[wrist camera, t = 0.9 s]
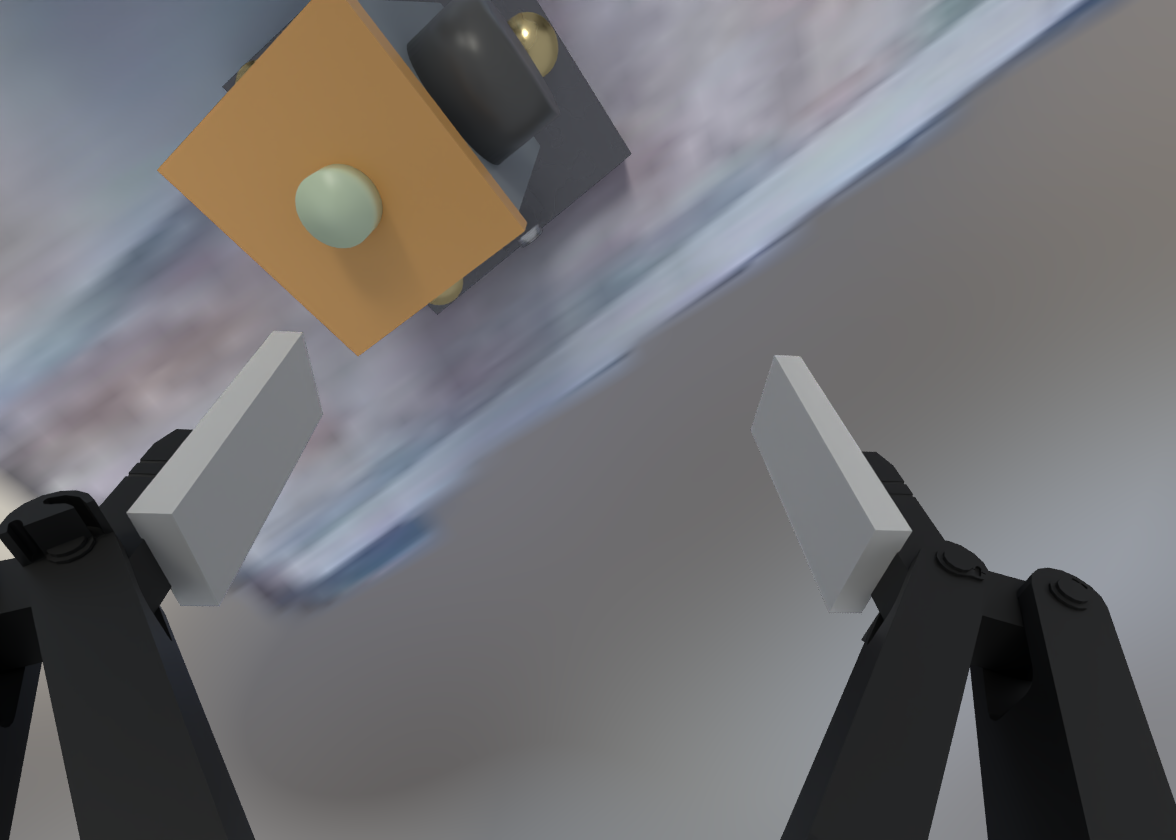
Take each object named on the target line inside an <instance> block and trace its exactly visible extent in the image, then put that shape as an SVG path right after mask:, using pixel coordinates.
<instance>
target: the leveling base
mask: <svg viewBox="0 0 1176 840" xmlns="http://www.w3.org/2000/svg"><path fill="white" fill-rule="evenodd" d="M390 1H413V2H435V3H441V4H442V6H443V7H445V6H446V5H447V4H448V3H449V2H450V1H451V0H390ZM491 1H492V3H493V4H494V5H495V7H496V8H497V9H498V11H499V12H500V13H501V15H502V16H503V17H504V19H505V20H506V22H507V23H508V24H509V26H510V27H511V29H512V30H513V32H514V33H515V34H516V36H517V37H518V39H519V40H520V42H521V43H522V45H523V46H524V48H525V49H526V51H527V53H528V54H529V56H530V57H531V59H532V60H533V62H534V64H535V65H536V67H537V68H538V70H539V72H540V73H541V75H542V77H543V79H544V80H545V82H546V84H547V86H548V87H549V89H550V91H551V93H552V95H553V97H554V99H555V101H556V103H557V105H558V108H559V111H560V115H559V116H558V117H557V118H556V119H554V120H553V121H552V122H551V123H550V124H548V125H547V126H546V127H545V128H543V129H542V130H541V131H540V132H539V133H537V134H536V135H535V136H534V137H535V139H536V140H537V142H538V143H539V145H540V149H539V152H538V155H537V158H536V161H535V164H534V167H533V170H532V173H531V176H530V179H529V182H528V185H527V188H526V191H525V194H524V197H523V200H522V203H521V206H520V209H519V212H520V213H521V215H522V216H523V217H524V219H525V220H526V221H527V225H526V229H525V231H524V232H523V233H522V234H520V235H519V236H518V237H516V238H515V239H514V240H512V241H511V242H510V243H508V244H507V245H506V246H504V247H503V248H502V249H500V250H499V251H498V252H496V253H495V254H494V255H492V256H491V257H490V258H488V259H487V260H486V261H484V262H483V263H482V264H480V265H479V266H478V267H476V268H475V269H474V270H472V271H471V272H470V273H468V274H467V275H466V276H464V277H463V278H462V279H460V280H459V281H458V282H456V283H455V284H454V285H452V286H451V287H450V288H448V289H447V290H446V291H444V292H443V293H442V294H441V295H439V296H438V297H437V298H435V299H434V300H433V301H431V302H430V303H429V304H427V305H428V306H429V307H430V308H431V309H432V310H433V311H434V312H435V313H436V314H439V313H440V312H441V311H442V310H443V309H445V308H446V307H447V306H448V305H449V304H451V303H452V302H453V301H454V300H455V299H457V298H458V297H459V296H460V295H461V294H463V293H464V292H465V291H466V290H468V289H469V288H470V287H471V286H472V285H474V284H475V283H476V282H477V281H478V280H480V279H481V278H482V277H483V276H484V275H486V274H487V273H488V272H489V271H491V270H492V269H493V268H494V267H495V266H497V265H498V264H499V263H500V262H501V261H503V260H504V259H505V258H506V257H507V256H509V255H510V254H511V253H512V252H514V251H515V250H516V249H517V248H518V247H520V246H522V247H525V246H527V245H528V244H530V243H531V242H533V241H534V240H535V239H536V238H537V237H538V236H539V235H540V234H541V233H542V231H543V230H542V228H543V227H544V226H545V225H546V224H547V223H549V222H550V221H551V220H552V219H553V218H555V217H556V216H557V215H558V214H560V213H561V212H562V211H563V210H564V209H566V208H567V207H568V206H569V205H570V204H572V203H573V202H574V201H575V200H576V199H578V198H579V197H580V196H581V195H583V194H584V193H585V192H586V191H587V190H589V189H590V188H591V187H592V186H593V185H595V184H596V183H597V182H598V181H599V180H601V179H602V178H603V177H604V176H605V175H607V174H608V173H609V172H610V171H612V170H613V169H614V168H615V167H616V166H618V165H619V164H620V163H621V162H622V161H624V160H625V159H626V158H627V157H628V156H630V155H631V152H630V151H629V149H628V147H627V146H626V144H625V143H624V141H623V139H622V138H621V136H620V135H619V133H618V131H617V130H616V128H615V126H614V125H613V123H612V122H611V120H610V118H609V117H608V115H607V113H606V112H605V110H604V109H603V107H602V105H601V104H600V102H599V101H598V99H597V97H596V96H595V94H594V92H593V91H592V89H591V88H590V86H589V84H588V83H587V81H586V80H585V78H584V76H583V75H582V73H581V71H580V70H579V68H578V67H577V65H576V63H575V62H574V60H573V59H572V57H571V55H570V54H569V52H568V50H567V49H566V47H565V46H564V44H563V42H562V41H561V39H560V38H559V36H558V34H557V33H556V31H555V29H554V28H553V26H552V25H551V23H550V21H549V20H548V18H547V17H546V15H545V13H544V12H543V10H542V8H541V7H540V5H539V4H538V2H537V0H491ZM295 18H296V17H295ZM295 18H294V19H295ZM294 19H293V20H294ZM293 20H292V21H293ZM292 21H291V22H292ZM291 22H289V23H288V24H287V25H286V26H285V27H284V28H283V29H282V30H281V31H280V32H279V33H278V34H277V35H276V36H275V37H274V38H273V39H272V40H271V41H270V42H269V43H267V44H266V45H265V46H264V47H263V48H262V49H261V50H260V51H259V52H258V53H257V54H256V55H255V56H254V57H253V58H252V59H251V60H250V61H249V62H248V63H246V64H245V65H243V66H242V67H241V69H240V70H239V71H238V72H237V73H236V74H235V75H234V76H233V77H232V78H231V79H230V80H229V81H228V82H227V83H226V84H225V85H224V86H222V87H223V88H224V89H225V90H226V91H227V92H228V91H229V90H230V89H231V88H232V87H233V86H234V85H235V84H236V83H237V81H238V80H239V79H240V78H241V77H242V76H243V75H244V74H245V73H246V72H247V70H248V69H249V68H250V67H251V66H252V65H253V64H254V63H255V62H256V60H257V59H258V58H259V57H260V56H261V55H262V54H263V53H264V52H265V51H266V49H267V48H268V47H269V46H270V45H271V44H272V43H273V42H274V41H275V40H276V38H277V37H278V36H279V35H280V34H281V33H282V32H283V31H284V30H285V29H286V27H287V26H288V25H289V24H290V23H291Z"/></svg>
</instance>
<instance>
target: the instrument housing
mask: <svg viewBox="0 0 1176 840" xmlns="http://www.w3.org/2000/svg"><path fill="white" fill-rule="evenodd" d="M559 115H560V111H559V108H558V105H557V103H556V101H555V99H554V97H553V95H552V93H551V91H550V89H549V87H548V86H547V84H546V82H545V80H544V79H543V77H542V75H541V73H540V72H539V70H538V68H537V67H536V65H535V64H534V62H533V60H532V59H531V57H530V56H529V54H528V53H527V51H526V49H525V48H524V46H523V45H522V43H521V42H520V40H519V39H518V37H517V36H516V34H515V33H514V32H513V30H512V29H511V27H510V26H509V24H508V23H507V22H506V20H505V19H504V17H503V16H502V15H501V13H500V12H499V11H498V9H497V8H496V7H495V5H494V4H493V3H492V1H491V0H451V1H450V2H449V3H448V4H447V5H446V6H445V7H443V6H442V4H441V3H435V2H413V1H390V0H311V1H310V2H309V3H308V4H307V5H306V6H305V8H304V9H303V10H302V11H301V12H300V13H299V14H298V15H297V16H296V18H295V19H294V20H293V21H292V22H291V23H290V24H289V25H288V26H287V27H286V29H285V30H284V31H283V32H282V33H281V34H280V35H279V36H278V37H277V38H276V40H275V41H274V42H273V43H272V44H271V45H270V46H269V47H268V48H267V49H266V51H265V52H264V53H263V54H262V55H261V56H260V57H259V58H258V59H257V60H256V62H255V63H254V64H253V65H252V66H251V67H250V68H249V69H248V70H247V72H246V73H245V74H244V75H243V76H242V77H241V78H240V79H239V80H238V81H237V83H236V84H235V85H234V86H233V87H232V88H231V89H230V90H229V91H228V92H227V94H226V95H225V96H224V97H223V98H222V99H221V100H220V101H219V102H218V103H217V105H216V106H215V107H214V108H213V109H212V110H211V111H210V112H209V113H208V114H207V116H206V117H205V118H204V119H203V120H202V121H201V122H200V123H199V124H198V126H197V127H196V128H195V129H194V130H193V131H192V132H191V133H190V134H189V135H188V137H187V138H186V139H185V140H184V141H183V142H182V143H181V144H180V145H179V146H178V148H177V149H176V150H175V151H174V152H173V153H172V154H171V155H170V156H169V157H168V159H167V160H166V161H165V162H164V163H163V164H162V165H161V166H160V167H159V168H158V170H157V171H158V172H159V173H161V174H162V175H163V176H164V177H165V178H166V179H167V180H168V181H169V182H170V183H171V184H172V185H173V186H175V187H176V188H177V189H178V190H179V191H180V192H181V193H182V194H183V195H184V196H185V197H186V198H188V199H189V200H190V201H191V202H192V203H193V204H194V205H195V206H196V207H197V208H198V209H199V210H200V211H202V212H203V213H204V214H205V215H206V216H207V217H208V218H209V219H210V220H211V221H212V222H213V223H214V224H216V225H217V226H218V227H219V228H220V229H221V230H222V231H223V232H224V233H225V234H226V235H227V236H229V237H230V238H231V239H232V240H233V241H234V242H235V243H236V244H237V245H238V246H239V247H240V248H241V249H243V250H244V251H245V252H246V253H247V254H248V255H249V256H250V257H251V258H252V259H253V260H254V261H256V262H257V263H258V264H259V265H260V266H261V267H262V268H263V269H264V270H265V271H266V272H267V273H268V274H270V275H271V276H272V277H273V278H274V279H275V280H276V281H277V282H278V283H279V284H280V285H281V286H283V287H284V288H285V289H286V290H287V291H288V292H289V293H290V294H291V295H292V296H293V297H294V298H295V299H297V300H298V301H299V302H300V303H301V304H302V305H303V306H304V307H305V308H306V309H307V310H308V311H309V312H311V313H312V314H313V315H314V316H315V317H316V318H317V319H318V320H319V321H320V322H321V323H322V324H324V325H325V326H326V327H327V328H328V329H329V330H330V331H331V332H332V333H333V334H334V335H335V336H336V337H338V338H339V339H340V340H341V341H342V342H343V343H344V344H345V345H346V346H347V347H348V348H349V349H351V350H352V351H353V352H354V353H355V354H356V355H357V356H359V355H361V354H362V353H363V352H365V351H366V350H367V349H369V348H370V347H371V346H373V345H374V344H375V343H377V342H378V341H379V340H381V339H382V338H383V337H385V336H386V335H387V334H389V333H390V332H391V331H393V330H394V329H395V328H397V327H398V326H399V325H401V324H402V323H403V322H405V321H406V320H407V319H409V318H410V317H411V316H413V315H414V314H415V313H417V312H418V311H419V310H421V309H422V308H423V307H425V306H426V305H427V304H429V303H430V302H431V301H433V300H434V299H435V298H437V297H438V296H439V295H441V294H442V293H443V292H444V291H446V290H447V289H448V288H450V287H451V286H452V285H454V284H455V283H456V282H458V281H459V280H460V279H462V278H463V277H464V276H466V275H467V274H468V273H470V272H471V271H472V270H474V269H475V268H476V267H478V266H479V265H480V264H482V263H483V262H484V261H486V260H487V259H488V258H490V257H491V256H492V255H494V254H495V253H496V252H498V251H499V250H500V249H502V248H503V247H504V246H506V245H507V244H508V243H510V242H511V241H512V240H514V239H515V238H516V237H518V236H519V235H520V234H522V233H523V232H524V231H525V229H526V225H527V221H526V220H525V219H524V217H523V216H522V215H521V213H520V212H519V209H520V206H521V203H522V200H523V197H524V194H525V191H526V188H527V185H528V182H529V179H530V176H531V173H532V170H533V167H534V164H535V161H536V158H537V155H538V152H539V149H540V145H539V143H538V142H537V140H536V139H535V137H534V136H535V135H536V134H537V133H539V132H540V131H541V130H542V129H543V128H545V127H546V126H547V125H548V124H550V123H551V122H552V121H553V120H554V119H556V118H557V117H558V116H559Z"/></svg>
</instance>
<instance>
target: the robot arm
mask: <svg viewBox="0 0 1176 840" xmlns="http://www.w3.org/2000/svg"><path fill="white" fill-rule="evenodd" d="M322 415H323V412H322V408H321V404H320V400H319V396H318V392H317V388H316V384H315V380H314V376H313V372H312V368H311V364H310V360H309V356H308V351H307V347H306V343H305V339H304V335H303V332H285V331H273V332H272V333H271V334H270V335H269V337H268V338H267V339H266V340H265V342H264V343H263V344H262V345H261V347H260V348H259V349H258V350H257V352H256V353H255V354H254V355H253V357H252V358H251V359H250V360H249V361H248V363H247V364H246V365H245V366H244V368H243V369H242V370H241V371H240V373H239V374H238V375H237V376H236V378H235V379H234V380H233V381H232V383H231V384H230V385H229V386H228V387H227V389H226V390H225V391H224V392H223V394H222V395H221V396H220V397H219V399H218V400H217V401H216V402H215V404H214V405H213V406H212V407H211V408H210V410H209V411H208V412H207V413H206V415H205V416H204V417H203V418H202V420H201V421H200V422H199V423H198V425H197V426H196V427H195V428H194V430H187V429H176V430H174V431H173V432H171V433H170V434H168V435H167V436H165V437H163V438H162V439H160V440H159V441H157V442H156V443H154V444H153V445H152V447H151V448H150V449H149V450H148V451H147V452H146V454H145V455H144V456H143V457H142V458H141V459H140V463H137V464H136V465H135V466H134V467H133V468H132V470H131V471H130V472H129V476H126V477H125V478H124V479H123V480H122V481H121V482H120V483H119V485H118V486H117V487H116V488H115V489H114V490H113V492H112V493H111V494H110V495H109V496H108V497H107V498H106V500H105V501H104V502H103V503H102V504H101V505H100V506H98V505H97V503H96V502H95V500H94V499H93V498H92V497H91V496H90V495H89V494H88V493H85V492H81V491H77V490H74V491H59V492H55V493H51V494H47V495H43V496H40V497H38V498H36V499H33V500H31V501H29V502H27V503H24V504H23V505H21V506H20V507H18V508H17V509H16V510H14V511H13V512H11V513H10V514H9V515H8V516H7V517H6V518H5V519H4V521H3V522H2V523H1V524H0V539H1V541H2V542H3V543H4V544H5V546H6V547H7V548H8V549H9V550H10V552H11V553H12V554H13V555H14V557H15V558H13V559H8V560H3V561H0V840H9V836H10V830H11V825H12V820H13V815H14V808H15V804H16V798H17V793H18V788H19V782H20V777H21V772H22V766H23V761H24V755H25V750H26V745H27V739H28V734H29V729H30V723H31V718H32V712H33V707H34V702H35V696H36V691H37V686H38V680H39V674H40V669H41V664H42V662H43V665H44V670H45V675H46V679H47V684H48V688H49V694H50V698H51V703H52V708H53V712H54V717H55V722H56V726H57V731H58V736H59V741H60V745H61V750H62V755H63V760H64V765H65V769H66V774H67V779H68V784H69V788H70V793H71V798H72V803H73V807H74V812H75V817H76V821H77V826H78V831H79V836H80V840H255V838H254V835H253V833H252V830H251V828H250V825H249V823H248V820H247V818H246V815H245V813H244V810H243V808H242V806H241V803H240V800H239V798H238V795H237V793H236V790H235V788H234V785H233V783H232V780H231V778H230V776H229V773H228V770H227V768H226V765H225V763H224V760H223V758H222V755H221V753H220V750H219V748H218V745H217V743H216V740H215V738H214V736H213V733H212V730H211V728H210V725H209V723H208V720H207V718H206V715H205V713H204V710H203V708H202V705H201V703H200V700H199V698H198V695H197V693H196V690H195V688H194V685H193V683H192V680H191V678H190V675H189V673H188V670H187V668H186V665H185V663H184V660H183V658H182V655H181V653H180V650H179V648H178V645H177V643H176V640H175V638H174V635H173V633H172V630H171V628H170V626H169V623H168V620H167V618H166V615H165V613H164V611H163V610H162V609H161V607H160V604H161V602H162V601H163V599H164V598H165V596H166V595H167V593H168V591H169V590H170V589H171V590H172V592H173V594H174V595H175V597H176V599H177V601H178V602H179V604H180V606H220V604H221V602H222V601H223V599H224V597H225V595H226V593H227V591H228V589H229V588H230V586H231V584H232V582H233V580H234V578H235V576H236V575H237V573H238V571H239V569H240V567H241V565H242V563H243V562H244V560H245V558H246V556H247V554H248V552H249V551H250V549H251V547H252V545H253V543H254V541H255V539H256V538H257V536H258V534H259V532H260V530H261V528H262V526H263V525H264V523H265V521H266V519H267V517H268V515H269V513H270V512H271V510H272V508H273V506H274V504H275V502H276V500H277V499H278V497H279V495H280V493H281V491H282V489H283V487H284V486H285V484H286V482H287V480H288V478H289V476H290V474H291V473H292V471H293V469H294V467H295V465H296V463H297V461H298V460H299V458H300V456H301V454H302V452H303V450H304V448H305V447H306V445H307V443H308V441H309V439H310V437H311V435H312V434H313V432H314V430H315V428H316V426H317V424H318V423H319V421H320V419H321V417H322ZM751 432H752V434H753V437H754V438H755V441H756V444H757V446H758V448H759V450H760V453H761V455H762V458H763V460H764V462H765V465H766V467H767V469H768V472H769V474H770V476H771V479H772V481H773V483H774V486H775V488H776V490H777V493H778V495H779V497H780V500H781V502H782V504H783V507H784V509H785V511H786V514H787V516H788V518H789V521H790V523H791V525H792V528H793V530H794V533H795V535H796V537H797V540H798V542H799V544H800V546H801V549H802V551H803V553H804V556H805V558H806V560H807V563H808V565H809V568H810V570H811V572H812V575H813V577H814V579H815V582H816V584H817V586H818V588H819V591H820V593H821V596H822V598H823V600H824V602H825V605H826V607H827V610H828V612H829V613H862V611H863V609H864V608H865V606H866V605H867V603H868V601H869V600H870V598H871V597H872V598H873V600H874V602H875V604H876V606H877V608H878V610H879V614H878V615H877V616H876V618H875V620H874V621H873V623H872V624H871V626H870V627H869V629H868V630H867V632H866V633H865V635H864V636H863V638H862V641H864V642H865V643H864V645H863V647H862V649H861V652H860V654H859V656H858V659H857V662H856V664H855V666H854V668H853V671H852V673H851V675H850V678H849V680H848V682H847V685H846V687H845V689H844V692H843V694H842V696H841V699H840V701H839V703H838V706H837V708H836V711H835V713H834V715H833V717H832V720H831V722H830V725H829V727H828V729H827V732H826V734H825V736H824V739H823V741H822V743H821V746H820V748H819V750H818V753H817V755H816V757H815V760H814V762H813V764H812V767H811V769H810V771H809V774H808V776H807V778H806V781H805V783H804V785H803V788H802V790H801V793H800V795H799V797H798V799H797V802H796V804H795V807H794V809H793V811H792V814H791V816H790V818H789V821H788V823H787V826H786V828H785V830H784V832H783V835H782V837H781V839H780V840H928V836H929V832H930V828H931V824H932V820H933V816H934V812H935V807H936V803H937V799H938V795H939V791H940V787H941V783H942V779H943V775H944V771H945V767H946V763H947V758H948V754H949V750H950V746H951V742H952V738H953V733H954V730H955V726H956V721H957V717H958V713H959V709H960V704H961V701H962V696H963V693H964V689H965V684H966V680H967V676H968V672H969V668H970V670H971V681H972V690H973V700H974V709H975V718H976V728H977V738H978V748H979V758H980V767H981V776H982V787H983V796H984V806H985V814H986V825H987V834H988V840H1176V804H1175V801H1174V798H1173V795H1172V793H1171V789H1170V787H1169V784H1168V781H1167V778H1166V775H1165V772H1164V769H1163V766H1162V764H1161V760H1160V758H1159V755H1158V752H1157V749H1156V746H1155V743H1154V740H1153V738H1152V735H1151V732H1150V729H1149V726H1148V723H1147V720H1146V717H1145V714H1144V712H1143V708H1142V706H1141V703H1140V700H1139V697H1138V694H1137V691H1136V689H1135V685H1134V682H1133V680H1132V677H1131V674H1130V671H1129V668H1128V665H1127V662H1126V659H1125V656H1124V654H1123V650H1122V648H1121V645H1120V642H1119V639H1118V636H1117V633H1116V631H1115V627H1114V624H1113V622H1112V619H1111V616H1110V613H1109V610H1108V607H1107V606H1106V604H1105V602H1104V601H1103V599H1102V597H1101V596H1100V595H1099V594H1098V593H1097V592H1096V591H1095V590H1094V589H1093V588H1092V587H1091V586H1089V585H1088V584H1086V583H1085V582H1084V581H1082V580H1080V579H1079V578H1077V577H1075V576H1073V575H1071V574H1069V573H1066V572H1064V571H1062V570H1057V569H1052V568H1042V569H1037V570H1036V571H1035V572H1034V573H1032V575H1031V576H1030V577H1029V578H1028V579H1027V580H1026V581H1024V580H1020V579H1016V578H1012V577H1008V576H1005V575H1002V574H998V573H994V572H990V571H988V569H987V568H986V566H985V564H984V563H983V562H982V561H981V560H980V559H979V558H978V557H977V556H976V555H975V554H974V553H972V552H971V551H969V550H967V549H966V548H964V547H962V546H961V545H958V544H955V543H953V542H950V541H945V540H944V539H943V537H942V536H941V534H940V533H939V531H938V530H937V529H936V527H935V526H934V524H933V523H932V521H931V520H930V519H929V517H928V515H927V514H926V512H925V511H924V510H923V508H922V507H921V505H920V504H919V502H918V501H917V499H916V498H915V497H913V496H912V495H913V494H912V492H911V491H910V489H909V488H908V486H907V485H906V484H904V481H903V479H902V478H901V476H900V475H899V473H898V472H897V470H896V469H895V468H894V466H893V465H892V464H890V463H889V462H888V461H887V460H885V459H884V458H883V457H882V456H880V455H879V454H878V453H877V452H861V450H860V449H859V447H858V446H857V444H856V442H855V441H854V439H853V438H852V436H851V435H850V433H849V432H848V430H847V428H846V427H845V425H844V424H843V422H842V421H841V419H840V418H839V416H838V414H837V413H836V411H835V410H834V408H833V407H832V405H831V403H830V402H829V400H828V399H827V397H826V396H825V394H824V393H823V391H822V389H821V388H820V386H819V385H818V383H817V382H816V381H815V379H814V377H813V376H812V374H811V372H810V371H809V369H808V368H807V366H806V365H805V363H804V361H803V360H802V358H801V357H800V356H781V355H775V356H774V358H773V362H772V365H771V368H770V371H769V374H768V377H767V381H766V383H765V387H764V390H763V393H762V396H761V399H760V402H759V406H758V409H757V412H756V415H755V418H754V421H753V424H752V427H751Z"/></svg>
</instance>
